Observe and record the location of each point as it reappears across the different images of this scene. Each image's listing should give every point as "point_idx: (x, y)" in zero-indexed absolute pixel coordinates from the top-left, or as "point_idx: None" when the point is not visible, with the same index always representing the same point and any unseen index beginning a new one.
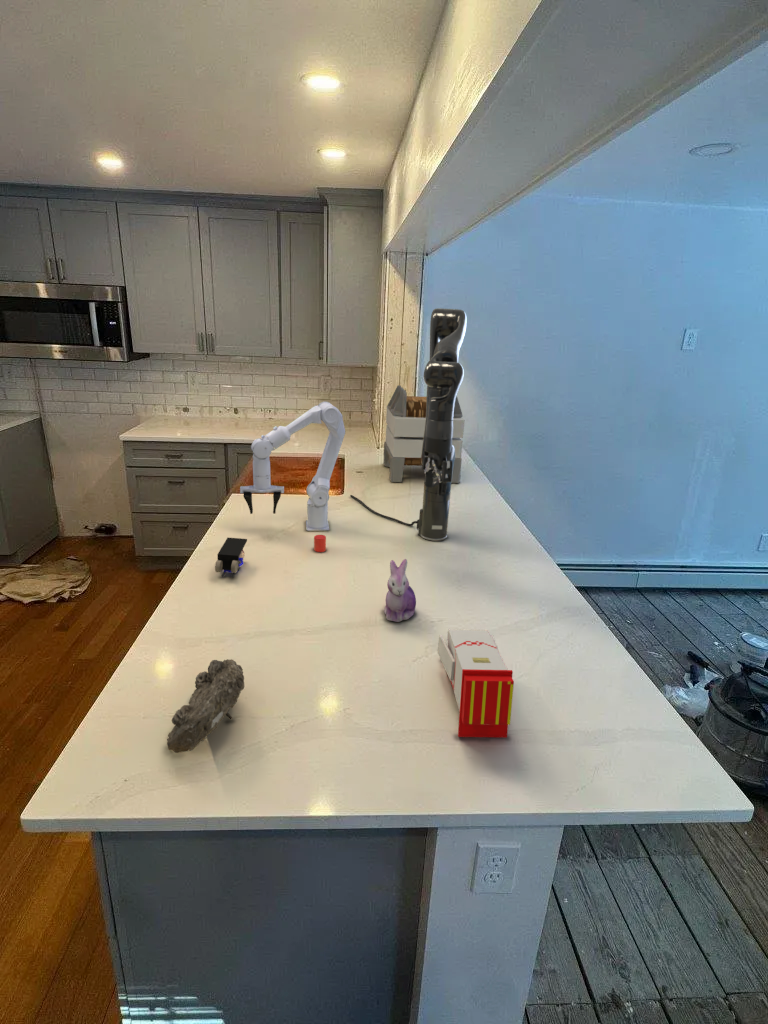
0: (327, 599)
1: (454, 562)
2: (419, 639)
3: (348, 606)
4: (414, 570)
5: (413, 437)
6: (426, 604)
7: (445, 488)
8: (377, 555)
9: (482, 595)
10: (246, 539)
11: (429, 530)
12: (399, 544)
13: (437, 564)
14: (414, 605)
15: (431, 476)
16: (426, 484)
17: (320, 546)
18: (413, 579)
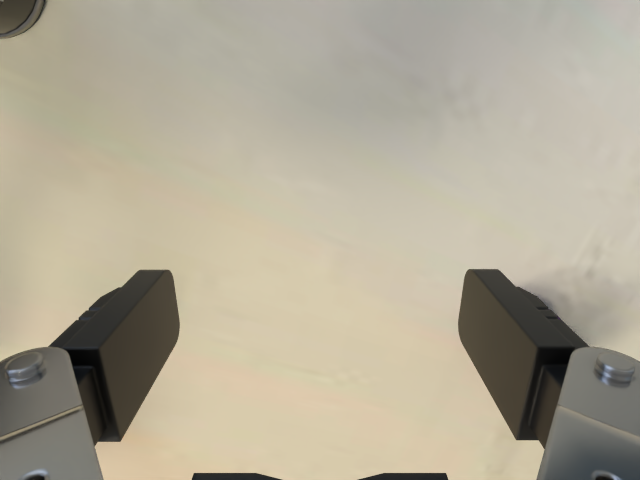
0: (386, 444)
1: (270, 15)
2: (637, 330)
3: (434, 416)
4: (296, 196)
5: None
6: (507, 251)
7: (559, 326)
8: (161, 266)
9: (541, 52)
10: None
11: (1, 11)
12: (72, 160)
13: (271, 95)
14: None
15: (122, 351)
16: (172, 342)
17: None
18: (355, 225)
